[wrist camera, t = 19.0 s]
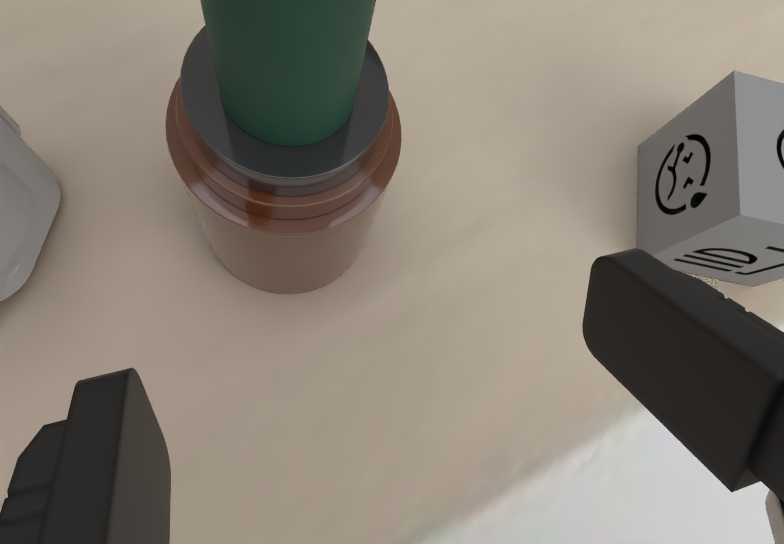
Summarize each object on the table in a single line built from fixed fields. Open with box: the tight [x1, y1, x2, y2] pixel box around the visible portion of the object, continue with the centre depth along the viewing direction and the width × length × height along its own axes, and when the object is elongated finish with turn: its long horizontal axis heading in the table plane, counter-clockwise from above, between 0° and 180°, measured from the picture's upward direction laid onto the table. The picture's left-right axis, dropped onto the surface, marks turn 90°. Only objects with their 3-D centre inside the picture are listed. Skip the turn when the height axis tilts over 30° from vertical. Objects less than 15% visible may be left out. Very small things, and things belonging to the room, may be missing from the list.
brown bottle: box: [166, 25, 401, 294], centre depth 30 cm, size 11×11×15 cm
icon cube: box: [637, 71, 784, 287], centre depth 39 cm, size 10×10×10 cm
